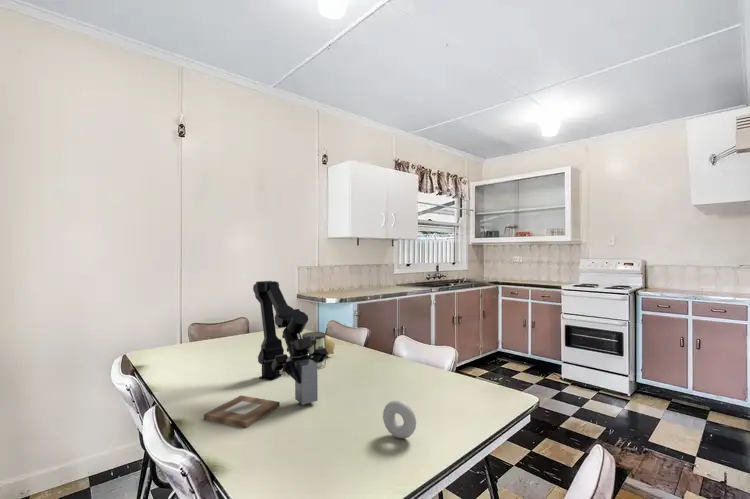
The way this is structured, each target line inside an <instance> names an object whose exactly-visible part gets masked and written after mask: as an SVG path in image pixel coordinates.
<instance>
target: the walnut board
mask: <svg viewBox="0 0 750 499" xmlns="http://www.w3.org/2000/svg"><path fill="white" fill-rule="evenodd" d="M280 404H281V403H280V401H276V400H270V399H265V398H259V397H254V396H253V397H251V396H245V395H239V396H237V397H235V398H233V399H231V400H229V401H226V402H225V403H223V404H220V405H219V406H217V407H216V408H214V409H212V410H210V411H208V412H206V413H204V414H203V420H206V421H211V422H216V423H221V424H224V425H225V424H226V425H231V426H235V427H241V428H245V429H246V428H249V427H250V426H252V425H253V424H255V423H256V422H258V421H259V420H261V419H263V418H264V417H266V416H267V415H269V414H270V413H272V412H274V411H275V410H276V409H278V408H280V407H281V405H280Z"/></svg>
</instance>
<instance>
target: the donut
mask: <svg viewBox="0 0 750 499" xmlns="http://www.w3.org/2000/svg"><path fill="white" fill-rule="evenodd" d="M396 414H397V415H400V417H401V418H402V420H403V424H400V423H399V422H398V421H397V419H396ZM382 419H383V424H384V426H385V428H386V429H387V431H388V433H390V434H391V435H392V436H393V437H396V438H397V439H402V440H403V439H407V438H409V437H411V436H413V434H414V433H415V430H416V429H417V428H416V427H417V417H416V415H415V412H414V410H413V409H412V407H411V406H410V405H409V404H408V403H406V402H405V401H403V400H399V399H395V400H391V401H388V403H387V404H386V405H385V406H384V409H383V412H382Z"/></svg>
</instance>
